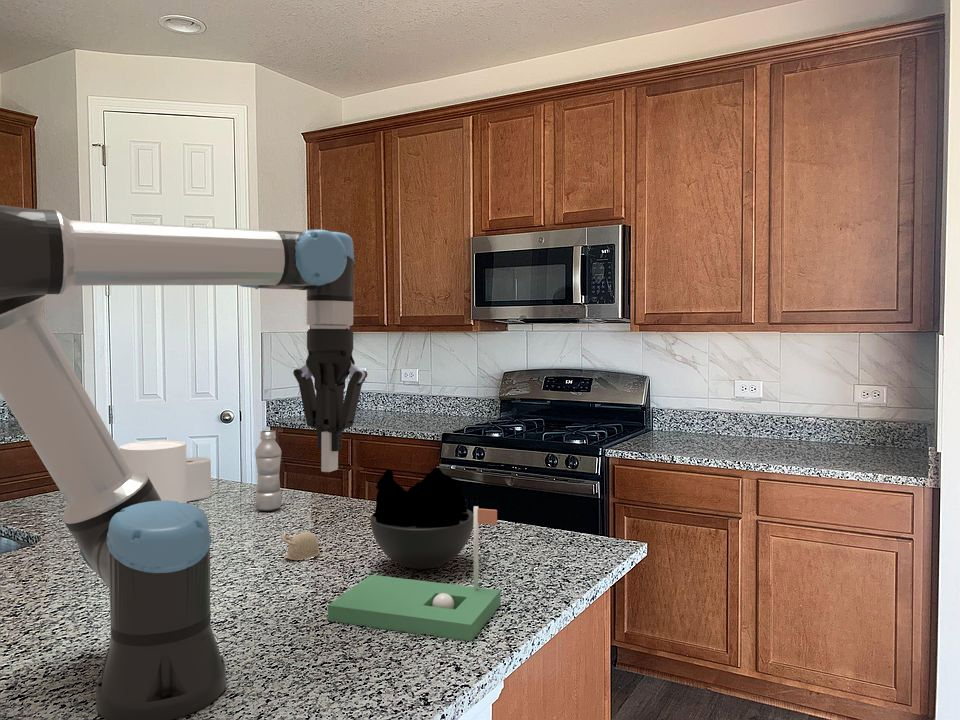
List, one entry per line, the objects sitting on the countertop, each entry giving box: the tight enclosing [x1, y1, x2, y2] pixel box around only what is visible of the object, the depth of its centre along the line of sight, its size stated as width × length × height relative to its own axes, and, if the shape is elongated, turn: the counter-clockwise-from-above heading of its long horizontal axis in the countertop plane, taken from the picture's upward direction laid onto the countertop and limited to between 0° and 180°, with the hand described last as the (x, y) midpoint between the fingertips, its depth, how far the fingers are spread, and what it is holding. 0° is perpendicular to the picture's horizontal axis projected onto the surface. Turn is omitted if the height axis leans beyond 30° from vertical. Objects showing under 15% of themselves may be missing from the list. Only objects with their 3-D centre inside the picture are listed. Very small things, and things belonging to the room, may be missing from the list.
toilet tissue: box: [186, 456, 212, 502], centre depth 200 cm, size 11×12×10 cm
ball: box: [432, 593, 454, 609], centre depth 119 cm, size 4×4×4 cm
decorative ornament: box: [280, 531, 321, 561], centre depth 148 cm, size 4×8×5 cm, turn 125°
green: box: [327, 505, 502, 642], centre depth 120 cm, size 15×24×16 cm, turn 72°
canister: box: [119, 439, 188, 503], centre depth 165 cm, size 14×14×20 cm
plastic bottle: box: [254, 429, 283, 512], centre depth 186 cm, size 6×7×20 cm
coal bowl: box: [369, 467, 474, 570], centre depth 142 cm, size 20×20×19 cm
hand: (329, 470), depth 122 cm, fingers closed
